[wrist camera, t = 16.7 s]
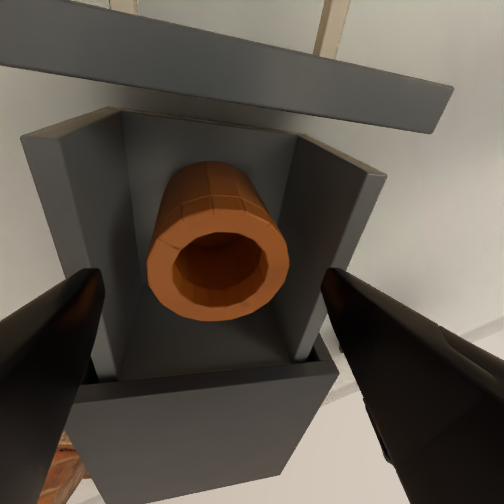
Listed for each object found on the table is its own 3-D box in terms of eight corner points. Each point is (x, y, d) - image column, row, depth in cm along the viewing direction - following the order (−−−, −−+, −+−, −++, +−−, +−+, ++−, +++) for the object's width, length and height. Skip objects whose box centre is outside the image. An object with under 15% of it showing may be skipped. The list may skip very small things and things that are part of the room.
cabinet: (112, 260, 17) (49, 407, 10) (284, 261, 20) (340, 373, 13) (134, 378, 25) (109, 511, 18) (255, 366, 28) (280, 475, 21)
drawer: (42, -177, 8) (-651, -1364, 1) (365, -59, 10) (632, -269, 4) (122, 284, 18) (83, 399, 11) (276, 281, 20) (314, 373, 14)
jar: (265, 166, 14) (304, 214, 9) (250, 248, 17) (274, 319, 12) (160, 154, 12) (140, 203, 8) (164, 246, 15) (151, 325, 10)
